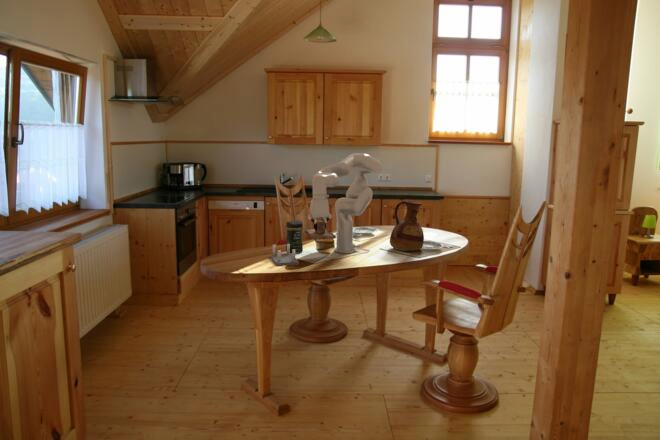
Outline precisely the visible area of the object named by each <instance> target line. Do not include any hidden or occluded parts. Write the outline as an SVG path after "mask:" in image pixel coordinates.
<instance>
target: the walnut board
mask: <svg viewBox="0 0 660 440" xmlns="http://www.w3.org/2000/svg"><path fill="white" fill-rule="evenodd" d="M316 223H317V231H315V229H314V228H313V229H311V228H310V229H304V232H305V234H306V235H308V236H309V237H310V238H311V239H312V240H313V241H314V240H315V241H318V240H320V241H321V240H334V239H337V234H336V235H335V234H334V233H333V232H331V231H330V230H329V229H327V227H326V228H325V222H323V220H317V221H316Z"/></svg>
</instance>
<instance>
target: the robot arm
mask: <svg viewBox="0 0 660 440" xmlns="http://www.w3.org/2000/svg"><path fill="white" fill-rule="evenodd" d="M354 171H355V179H354V180H353V182H352V183H351V185H350V186H349V187H348V189H347V191H346V193H345V197H340V198H337V200H335V203H334V208H335V209H334V210H335V214H336V247H334V248H333V252H334V253H338V254H351V253H355V252H356V248H358V249H359V248H360V249H361V245H362V244H357V243H353V240H354V238H353V237H354V235H353V233H354V220H353V217H352V216H356V217H357V216H361V215H362V214H363V213H364V212H365V211H366V209H367V207H368V206H369V205H370V203H371V201H372V199H373V195H374V194H373V190H372V188H371V187H369V181H368V177H367V175H373V176H374V175H378V174H381V171H382V163H381V161H379V160H378V159H377V158H375V157H374V156H371V155H370V154H367V153H360V152H359V153H358V152H357V153H355V152H354V153H351V154H349V155H348V156H346V157H345V158H344V159H342V160H341V161H339V162H336V163H334V164H331V165H328V166H326V167H323V168H322V169H320V170H319V171H317V172H316V173H315V174H313V176H312V199H311V201H310V205H309V206H310V208H309V214H308V215H307V218H306V219H308V220H310V221H311V222H312V223H313V229H315V231H317V223H316V221H318V219H322V221H323V222H325V228H326V229H327V223H328V222H329V220H330V219H333V215H332V214H331V213H330V204H329V200H328V198H329V197H330V194H328V193H327V188H333V187H336V186H338V184H339V182H340V178H342V177H346V176H349V175H350V173H352V172H354Z"/></svg>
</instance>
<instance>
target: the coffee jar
mask: <svg viewBox="0 0 660 440" xmlns="http://www.w3.org/2000/svg"><path fill="white" fill-rule="evenodd" d="M303 228H304V226H303V221H300V220H291V221H290V220H289V221H286V225H285V229H286V233H287V234H286V243H285V244H286V245H285V252H286V253H287V244H290V253H291V254H292V250H293V249H295V254H300V253H302V252H303V249H304V248H303V247H304V246H303V237H302V233H303Z"/></svg>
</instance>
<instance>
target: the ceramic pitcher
mask: <svg viewBox="0 0 660 440" xmlns="http://www.w3.org/2000/svg"><path fill="white" fill-rule="evenodd" d="M402 204H405V205H406V214H405V217H404V218H403V219H401V220H400V219H399V218H398V209H399V207H400V206H401V205H402ZM423 204H424V203H423V202H419V201H416V200H413V199H412V200H411V199H404V200H402V201H400V202H398V203H397V204H396V206H395V208H394V217H395V221H396V222H395V223H396V224H395V225H394V227H393V229H392V231H391V234H390V237H389V244H390V246H391V247H392V248H393V249H395V250H397V251H401V252H411V251H413V252H414V251H419V250H421V249H422V248H423V246H424V243H425V242H424V241H425V234H424V230H423V228H422V226H421V224H420V223H419V222H418V218H417V216H418V213H419V208H420V207H421V206H422V205H423Z"/></svg>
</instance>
